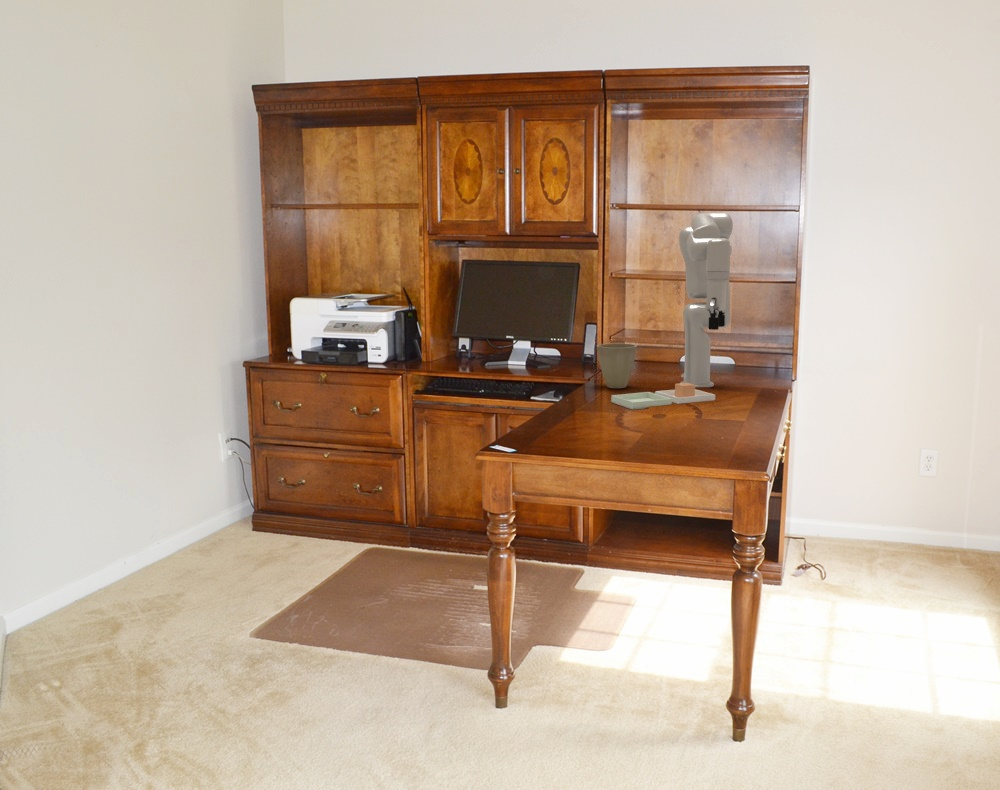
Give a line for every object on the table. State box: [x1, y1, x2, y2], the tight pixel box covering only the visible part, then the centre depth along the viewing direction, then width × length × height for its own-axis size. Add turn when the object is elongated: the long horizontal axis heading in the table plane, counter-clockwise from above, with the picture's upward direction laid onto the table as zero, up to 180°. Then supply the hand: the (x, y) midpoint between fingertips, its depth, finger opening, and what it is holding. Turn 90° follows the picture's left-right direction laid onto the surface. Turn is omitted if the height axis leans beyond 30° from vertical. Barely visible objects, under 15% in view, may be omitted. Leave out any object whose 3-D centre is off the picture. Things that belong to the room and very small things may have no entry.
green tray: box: [610, 391, 673, 410], centre depth 327 cm, size 15×15×2 cm
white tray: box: [654, 388, 716, 405], centre depth 333 cm, size 15×15×2 cm
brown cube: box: [674, 383, 696, 398], centre depth 333 cm, size 5×5×5 cm
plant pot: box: [596, 342, 638, 389], centre depth 361 cm, size 15×15×16 cm
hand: (716, 328), depth 319 cm, fingers open, 9 cm apart
